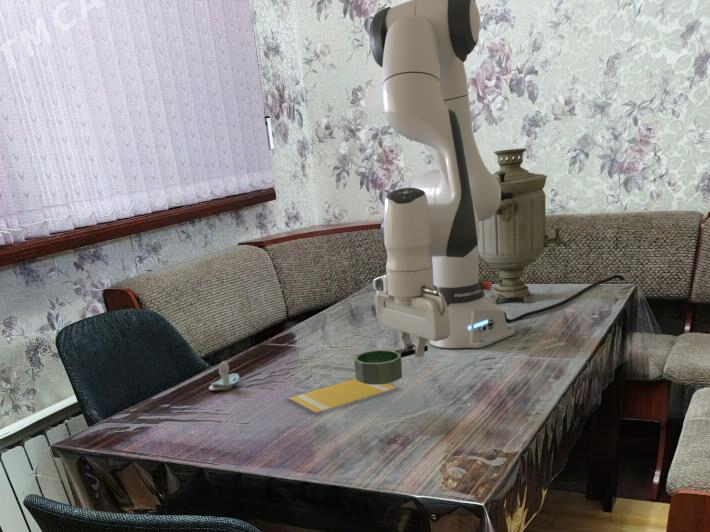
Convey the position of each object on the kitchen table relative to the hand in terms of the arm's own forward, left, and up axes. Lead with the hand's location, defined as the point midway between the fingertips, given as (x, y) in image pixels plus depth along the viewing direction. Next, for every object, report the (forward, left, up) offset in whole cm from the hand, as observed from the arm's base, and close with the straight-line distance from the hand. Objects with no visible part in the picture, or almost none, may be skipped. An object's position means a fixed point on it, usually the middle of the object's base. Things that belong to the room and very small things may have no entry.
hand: (413, 354), depth 142 cm
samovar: (-72, -45, -9) cm, 85 cm away
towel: (+10, -12, -9) cm, 18 cm away
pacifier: (+27, -37, -9) cm, 47 cm away
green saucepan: (+5, 0, -3) cm, 6 cm away
